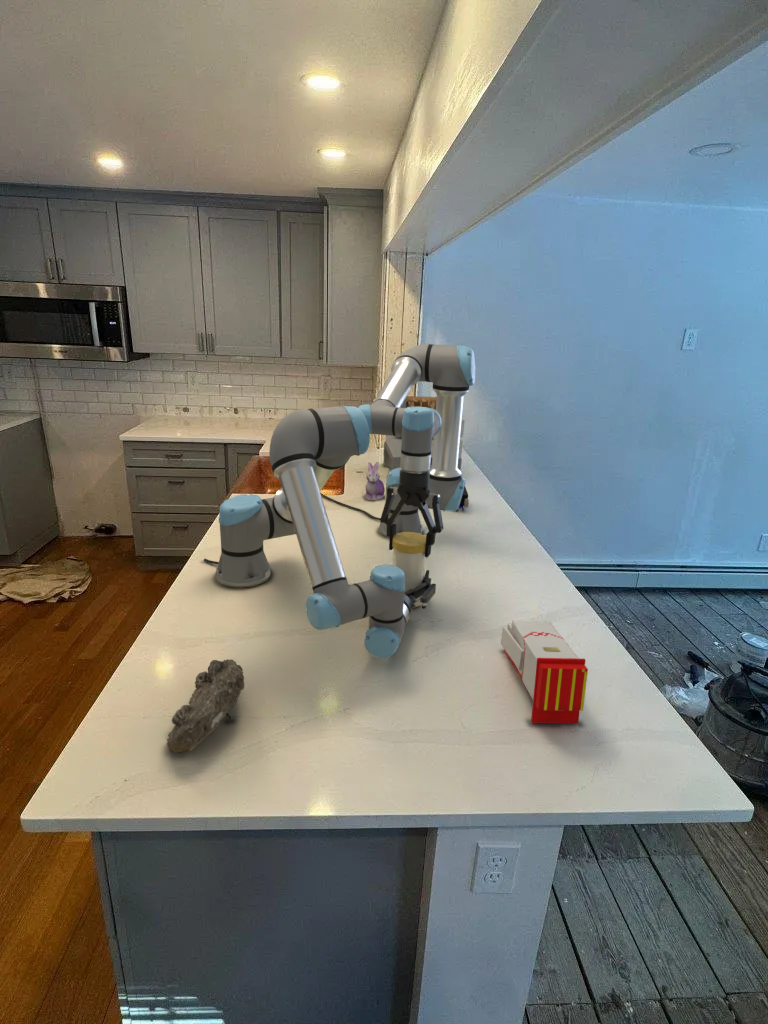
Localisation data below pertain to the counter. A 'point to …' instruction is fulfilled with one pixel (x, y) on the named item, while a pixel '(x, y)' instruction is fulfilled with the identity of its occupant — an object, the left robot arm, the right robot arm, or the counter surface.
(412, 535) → the lid
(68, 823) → the counter surface
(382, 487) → the figurine
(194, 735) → the fossil
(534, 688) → the toy
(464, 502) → the figurine character
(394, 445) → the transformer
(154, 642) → the counter surface
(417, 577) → the jar
